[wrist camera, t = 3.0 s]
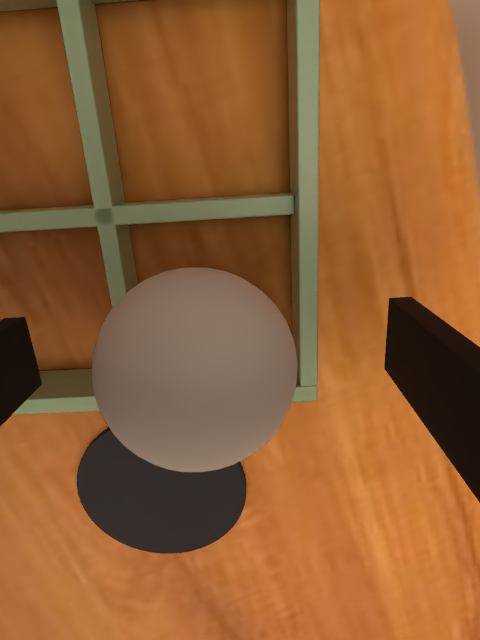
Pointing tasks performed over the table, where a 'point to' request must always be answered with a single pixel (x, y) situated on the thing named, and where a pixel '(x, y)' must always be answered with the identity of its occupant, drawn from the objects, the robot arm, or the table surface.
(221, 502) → the coaster
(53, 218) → the green grid frame
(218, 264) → the table surface
